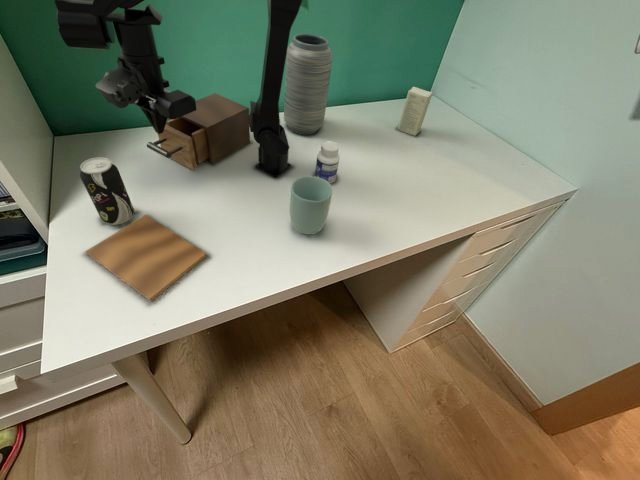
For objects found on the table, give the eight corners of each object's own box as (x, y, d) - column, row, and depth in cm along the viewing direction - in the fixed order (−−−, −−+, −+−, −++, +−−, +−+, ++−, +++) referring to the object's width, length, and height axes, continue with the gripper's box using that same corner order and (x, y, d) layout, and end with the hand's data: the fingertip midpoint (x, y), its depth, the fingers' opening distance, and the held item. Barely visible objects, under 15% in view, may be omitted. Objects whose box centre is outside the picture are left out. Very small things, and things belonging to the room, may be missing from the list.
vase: (275, 127, 94) (277, 37, 78) (298, 113, 101) (304, 28, 85) (309, 141, 91) (318, 51, 74) (330, 127, 98) (343, 41, 82)
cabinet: (212, 164, 78) (207, 127, 71) (179, 147, 82) (171, 110, 75) (250, 142, 87) (248, 107, 80) (218, 127, 90) (214, 92, 83)
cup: (321, 243, 65) (328, 205, 58) (283, 235, 65) (286, 196, 58) (328, 218, 70) (336, 180, 63) (293, 210, 71) (297, 171, 63)
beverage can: (138, 222, 63) (117, 170, 54) (104, 230, 61) (77, 177, 52) (132, 204, 66) (112, 152, 57) (100, 211, 64) (73, 158, 55)
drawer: (177, 179, 72) (169, 147, 66) (146, 161, 75) (136, 130, 69) (231, 148, 82) (228, 119, 77) (202, 134, 85) (197, 105, 80)
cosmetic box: (419, 131, 103) (434, 92, 94) (414, 136, 100) (429, 97, 92) (401, 124, 105) (413, 85, 96) (396, 129, 102) (408, 90, 93)
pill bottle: (313, 170, 82) (317, 138, 75) (334, 171, 82) (340, 140, 76) (315, 183, 78) (319, 151, 72) (336, 184, 79) (343, 152, 72)
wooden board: (207, 256, 59) (206, 253, 59) (150, 301, 52) (149, 298, 51) (146, 217, 64) (145, 214, 63) (86, 254, 56) (85, 251, 56)
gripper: (59, 44, 55) (94, 130, 66) (134, 79, 49) (158, 166, 61) (119, 33, 62) (142, 112, 73) (191, 62, 56) (203, 143, 68)
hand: (159, 132), depth 68 cm, fingers closed
